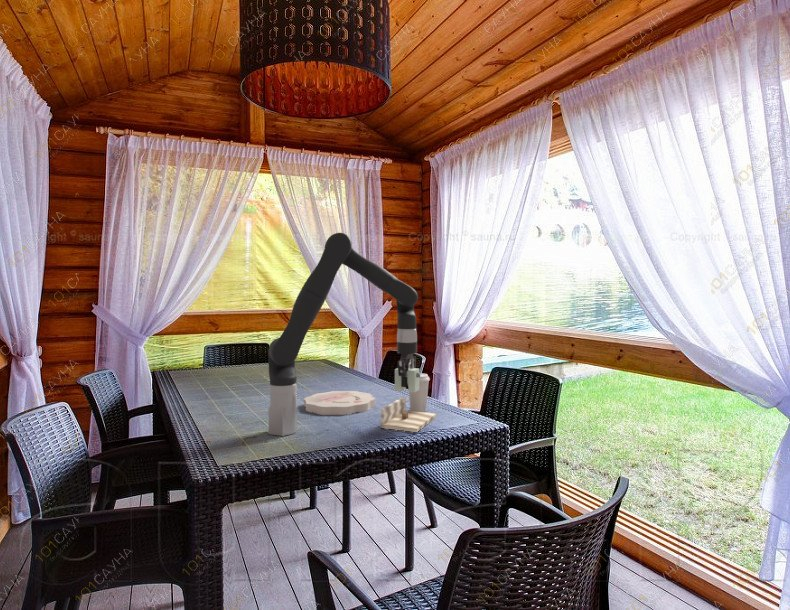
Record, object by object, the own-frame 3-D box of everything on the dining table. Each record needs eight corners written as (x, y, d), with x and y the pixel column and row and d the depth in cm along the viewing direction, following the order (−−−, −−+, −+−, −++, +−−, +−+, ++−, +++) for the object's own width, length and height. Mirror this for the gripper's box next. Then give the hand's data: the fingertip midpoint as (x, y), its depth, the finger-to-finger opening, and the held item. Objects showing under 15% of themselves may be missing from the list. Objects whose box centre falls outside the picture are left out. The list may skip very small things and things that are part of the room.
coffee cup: (403, 409, 206) (403, 373, 205) (423, 407, 209) (423, 372, 209) (412, 414, 197) (412, 377, 196) (433, 412, 201) (433, 376, 200)
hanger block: (417, 392, 181) (417, 370, 181) (394, 390, 185) (394, 369, 184) (421, 389, 186) (421, 368, 185) (399, 387, 189) (399, 367, 189)
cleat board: (417, 433, 173) (417, 413, 172) (380, 428, 178) (380, 409, 178) (436, 417, 193) (436, 399, 193) (403, 413, 198) (403, 396, 198)
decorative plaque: (338, 388, 232) (388, 396, 214) (338, 395, 233) (388, 405, 214) (289, 399, 208) (341, 410, 190) (289, 408, 209) (341, 420, 190)
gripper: (409, 343, 177) (409, 390, 177) (422, 339, 190) (422, 382, 190) (390, 342, 179) (390, 388, 180) (404, 338, 193) (404, 381, 193)
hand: (407, 385), depth 185 cm, fingers closed on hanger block, 5 cm apart
